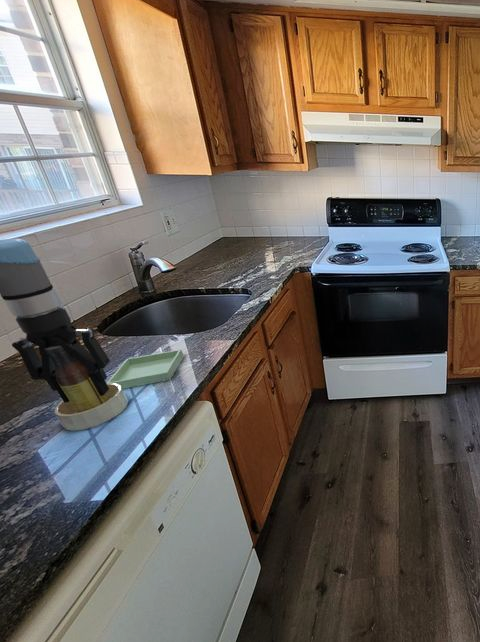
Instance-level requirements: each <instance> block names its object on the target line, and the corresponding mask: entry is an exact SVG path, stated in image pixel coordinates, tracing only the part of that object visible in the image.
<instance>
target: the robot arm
mask: <svg viewBox="0 0 480 642" xmlns="http://www.w3.org/2000/svg"><path fill="white" fill-rule="evenodd" d="M0 296H1V298H2V299H3V301H4V303H5V305H6V306H7V308H8V310H9V312H10V314H11V315H12V316H13V317H16V318H15V321H16V323H17V325H18V327H19V328H20V330H21V331H22V332H23V333H24V334H25V337H20V338H19V339H16V341H14V342H13V343H11V347H13V348H14V349H15V350H16V351H17V352H18V353H19V355H20V357H21V359H22V361H23V363H24V365H25V367H26V369H27V371H28V373H29V376H30V377H31V379H32V380H33V381H38V380H44V381H46V383H47V384H48V386H49V387H50V389H51V390H52V391H54V392H55V391H56V392H57V393H58V395H59V397H60V398H61V401H64V403H66V402H69V399H68V397H67V396H66V394H65V393H64V391H63V390H62V388H61V387H60V385H59V384H58V382H57V380H56V376H55V365H54V363H53V360H52V359H51V357H50V356H49V355H48V354H47V353H46V351H45V349H46V348H48V347H52V346H58V345H60V346H62V347H63V349H64V350H65V351H67V352H70V353H71V354H73V355H74V356H75V357H76V358H77V359H78V360H79V361H80V362H82V363H83V364H84V365H85V366H86V367H87V368H88V369H90V370H91V372H90V373H89V376H90V378H91V380H92V382H93V383H94V385H95V387H96V389H97V391H98V393H99V394H100V396H102V395H105V393H106V392H107V391H108V390H109V387H108V385H107V381H106V380H107V379H108V375H107V374H106V371H105V368H107V366H108V365H109V364H110V362H111V359H110V358H109V356H108V354H107V353H106V351H105V350H104V348H103V347H102V345H101V344H100V342H99V341H98V339H97V338H96V336H95V329H94V328H93V327H87V328H86V329H85V328H77V327H76V326H75V325H73V323H72V320H71V317H70V315H69V313H68V312H67V310H66V308H65V307H64V306H63V305H62V304H63V303H62V300H61V299H60V297H59V295H58V293H57V291H56V289H55V288H54V286H53V284H52V282H51V280H50V278H49V276H48V274H47V272H46V270H45V269H44V267H43V265H42V262H41V259H40V258H39V256H37V254H36V252H35V251H34V249H33V247H32V246H31V244H30V243H29V242H28V241H27V240H24V239H22V238H5V239H4V238H3V239H0ZM77 336H78V337H79V339H78V338H77ZM80 340H81V341H82V343H83V345H84V346H85V347H84V346H83V345H82V343H81V341H80ZM70 345H71V346H70ZM35 346H38V352H39V355H40V357H39V355H38V353H37V351H36V349H35ZM40 358H41V359H40Z"/></svg>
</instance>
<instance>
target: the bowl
mask: <svg viewBox="0 0 480 642" xmlns="http://www.w3.org/2000/svg"><path fill="white" fill-rule="evenodd" d="M106 383H107V382H106ZM107 385H108V387H109V390H108V391H107V392H106V393H107V395H108V397H109V398H110V399H109V400H108V401H107V402H105V403H103V404H101V405H99V406H97V407H95V408H92V409H90V410H87V411H84V412H80V413H77V411H76V410H75V408H74V407H73V405H72V404H71V402H70V401H69V402H66V403H64V401H63V400H61V401H60V402H59V403H58V404H57V405H56V406H55V407H54V414H55V417H56V418H57V420H58V421H59V423H60V425H61V426H62V427H63V428H64V429H65V430H67V431H73V432H74V431H75V432H76V431H82V430H88V429H91V428H94V427H98V426H99V425H102V424H104V423H106V422H108V421H110V420H112V419H113V418H115V417H117V416H119V414H121V413H122V412H123V411H124V410H125V409H126V408H127V407H128V404H129V401H128V397H127V395H126V393H125V391H124V389H122V387H121V386H120V385H118V384H116V383H107Z"/></svg>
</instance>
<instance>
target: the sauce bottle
mask: <svg viewBox="0 0 480 642" xmlns="http://www.w3.org/2000/svg"><path fill="white" fill-rule="evenodd" d="M71 345H72V344H71ZM71 345H70V346H71ZM45 351H46V353H47V354H48V355H49V356H50V357H51V359H52V360H53V363H54V365H55V376H56V380H57V382H58V384H59V385H60V387H61V388H62V390H63V391H64V393H65V394H66V396H67V397H68V399H69V401H70V402H71V404H72V405H73V407H74V408H75V410H76V411H77V413H80V412H84V411H87V410H90V409H92V408H95V407H97V406H99V405H101V404H103V403H105V402H107V401H108V400H109V399H110V398H109V397H108V395H107V393H105V395H102V396H100V394H99V393H98V391H97V389H96V387H95V385H94V383H93V382H92V380H91V378H90V376H89V373H90V372H91V370H90V369H88V368H87V367H86V366H85V365H84V364H83V363H82V362H80V361H79V360H78V359H77V358H76V357H75V356H74V355H73V354H71V353H70V352H67V351H65V350H64V349H63V347H62V346H60V345H58V346H52V347H48V348H46V349H45Z"/></svg>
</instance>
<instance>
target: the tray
mask: <svg viewBox="0 0 480 642" xmlns="http://www.w3.org/2000/svg"><path fill="white" fill-rule="evenodd" d="M184 357H185V355H184V353H183V350H182V349H181V348H180V349H176V350H174V349H173V350H169V351H164V352H163V351H162V352H158V353H151V354H146V355H141V356H134V357H129V358H126V359H125V360H124V362H123V363H122V364H121V365H120V366H119V368H117V370H116V371H115V372H114V373H113V375H112V376H111V377H110V378H109V379H108V380H107V381H106V383H116V384H118V385H120V386H121V387H122V389H123V390H124V389H130V388H133V387H134V388H135V387H140V386H145V385H150V384H154V383H160V382H165V381H171V379H172V377H173V376H174V374H175V372H176V370H177V369H178V367H179V365H180V363H181V362H182V360H183V358H184Z"/></svg>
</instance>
